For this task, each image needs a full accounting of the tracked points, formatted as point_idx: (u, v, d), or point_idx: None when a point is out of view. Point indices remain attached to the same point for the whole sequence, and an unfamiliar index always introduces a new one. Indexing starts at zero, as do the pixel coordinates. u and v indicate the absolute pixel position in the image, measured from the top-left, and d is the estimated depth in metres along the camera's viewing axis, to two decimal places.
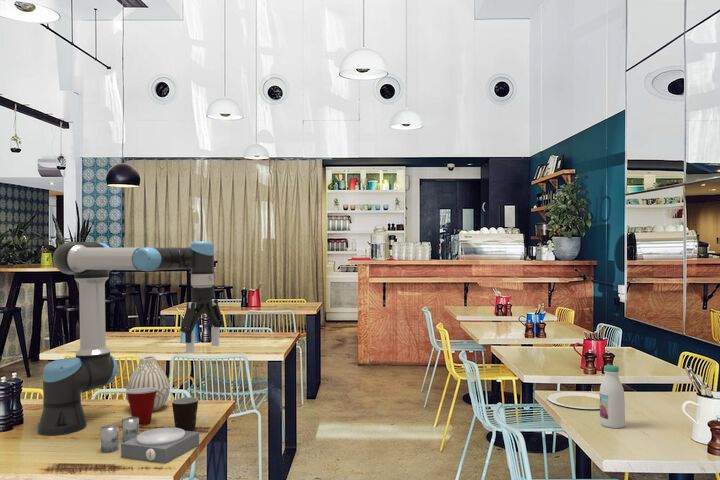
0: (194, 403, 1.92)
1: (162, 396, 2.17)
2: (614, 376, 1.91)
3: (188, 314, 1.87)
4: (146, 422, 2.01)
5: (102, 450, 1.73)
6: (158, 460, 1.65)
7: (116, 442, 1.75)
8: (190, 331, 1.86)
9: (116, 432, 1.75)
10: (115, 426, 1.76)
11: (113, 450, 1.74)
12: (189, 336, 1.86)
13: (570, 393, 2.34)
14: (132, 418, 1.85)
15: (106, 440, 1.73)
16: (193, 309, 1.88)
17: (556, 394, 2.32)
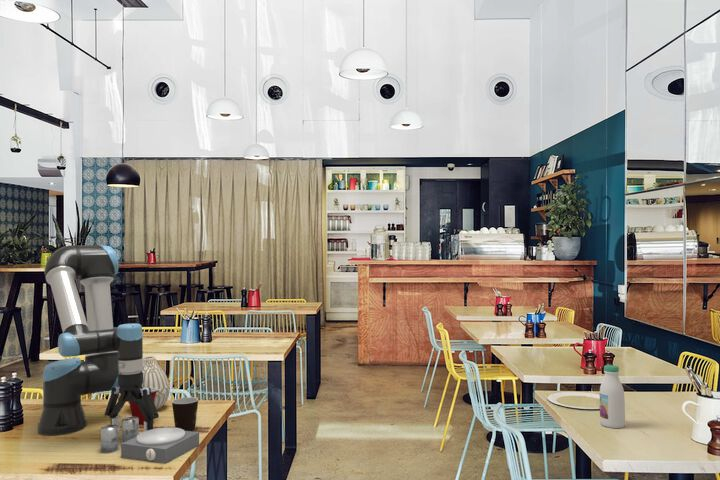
0: (194, 403, 1.92)
1: (162, 396, 2.17)
2: (614, 376, 1.91)
3: None
4: None
5: (102, 450, 1.73)
6: (158, 460, 1.65)
7: (116, 442, 1.75)
8: (110, 416, 1.85)
9: (116, 432, 1.75)
10: (115, 426, 1.76)
11: (113, 450, 1.74)
12: (111, 421, 1.86)
13: (570, 393, 2.34)
14: (132, 418, 1.85)
15: (106, 440, 1.73)
16: (112, 394, 1.85)
17: (556, 394, 2.32)
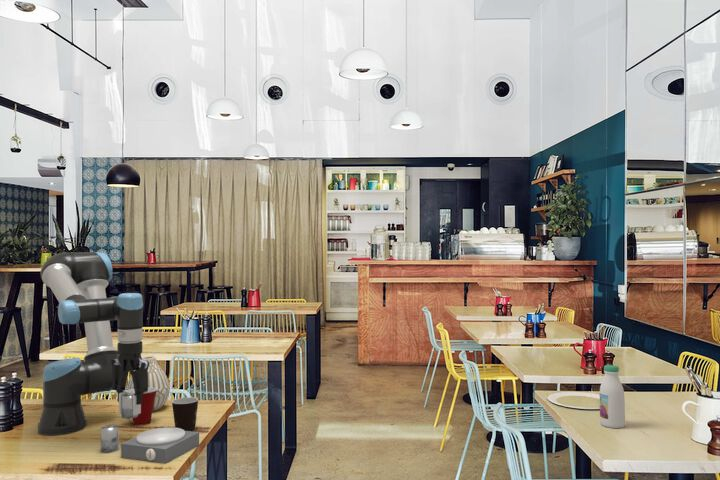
0: (194, 403, 1.92)
1: (162, 396, 2.17)
2: (614, 376, 1.91)
3: None
4: (146, 422, 2.01)
5: (102, 450, 1.73)
6: (158, 460, 1.65)
7: (116, 442, 1.75)
8: (117, 391, 1.85)
9: (116, 432, 1.75)
10: (115, 426, 1.76)
11: (113, 450, 1.74)
12: (118, 395, 1.85)
13: (570, 393, 2.34)
14: (132, 394, 1.85)
15: (106, 440, 1.73)
16: (113, 366, 1.85)
17: (556, 394, 2.32)
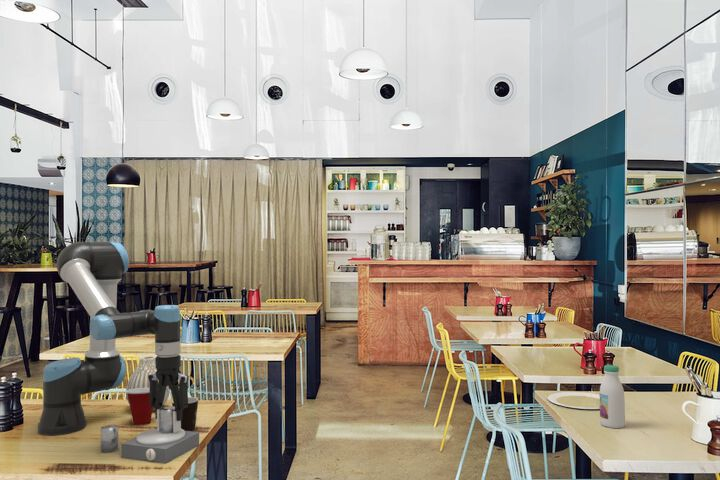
0: (194, 403, 1.92)
1: None
2: (614, 376, 1.91)
3: None
4: (146, 422, 2.01)
5: (102, 450, 1.73)
6: (158, 460, 1.65)
7: (116, 442, 1.75)
8: (155, 407, 1.78)
9: (116, 432, 1.75)
10: (115, 426, 1.76)
11: (113, 450, 1.74)
12: (156, 412, 1.78)
13: (570, 393, 2.34)
14: (170, 408, 1.78)
15: (106, 440, 1.73)
16: (151, 382, 1.78)
17: (556, 394, 2.32)
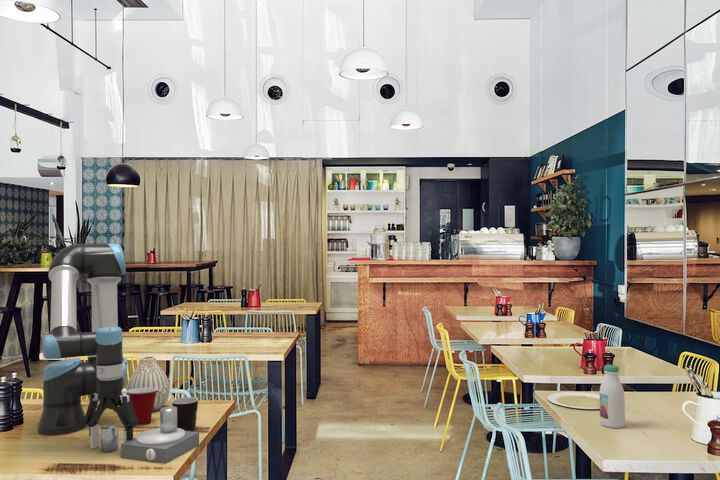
0: (194, 403, 1.92)
1: (162, 396, 2.17)
2: (614, 376, 1.91)
3: None
4: (146, 422, 2.01)
5: (102, 450, 1.73)
6: (158, 460, 1.65)
7: (116, 442, 1.75)
8: (88, 425, 1.77)
9: (116, 432, 1.75)
10: (115, 426, 1.76)
11: (113, 450, 1.74)
12: (90, 430, 1.77)
13: (570, 393, 2.34)
14: (170, 408, 1.78)
15: (106, 440, 1.73)
16: (91, 401, 1.77)
17: (556, 394, 2.32)
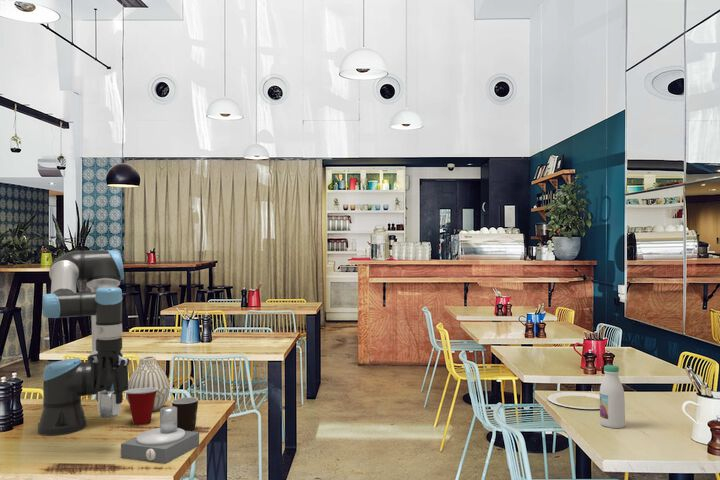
0: (194, 403, 1.92)
1: (162, 396, 2.17)
2: (614, 376, 1.91)
3: None
4: (146, 422, 2.01)
5: (102, 415, 1.74)
6: (158, 460, 1.65)
7: None
8: (96, 390, 1.77)
9: None
10: None
11: (112, 415, 1.75)
12: (97, 394, 1.77)
13: (570, 393, 2.34)
14: (170, 408, 1.78)
15: (105, 406, 1.74)
16: (92, 364, 1.77)
17: (556, 394, 2.32)
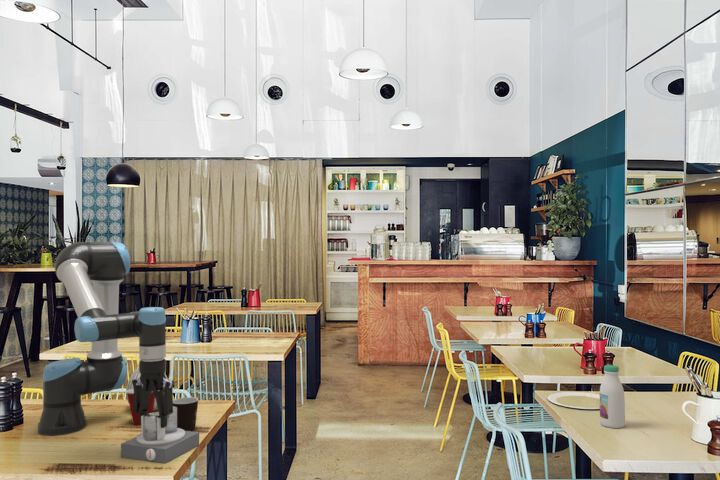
0: (194, 403, 1.92)
1: None
2: (614, 376, 1.91)
3: None
4: None
5: (146, 438, 1.68)
6: (158, 460, 1.65)
7: None
8: (139, 413, 1.71)
9: None
10: (158, 414, 1.71)
11: None
12: (140, 418, 1.71)
13: (570, 393, 2.34)
14: None
15: (150, 428, 1.68)
16: (135, 387, 1.72)
17: (556, 394, 2.32)
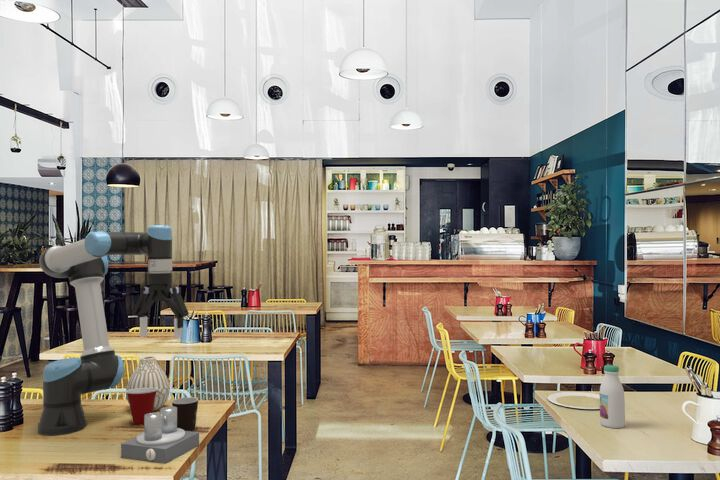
0: (194, 403, 1.92)
1: (162, 396, 2.17)
2: (614, 376, 1.91)
3: None
4: None
5: (146, 438, 1.68)
6: (158, 460, 1.65)
7: (160, 430, 1.70)
8: (138, 315, 1.88)
9: (160, 420, 1.70)
10: (159, 414, 1.71)
11: (157, 438, 1.69)
12: (139, 320, 1.89)
13: (570, 393, 2.34)
14: (170, 408, 1.78)
15: (150, 428, 1.68)
16: (141, 294, 1.88)
17: (556, 394, 2.32)
